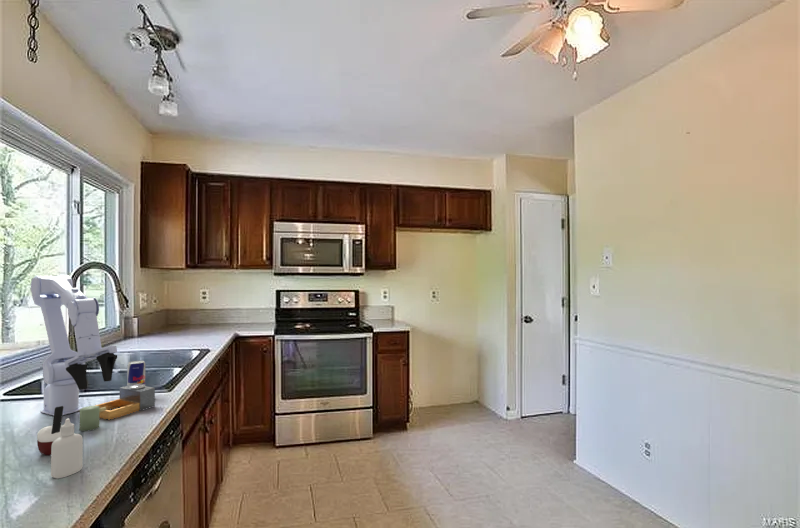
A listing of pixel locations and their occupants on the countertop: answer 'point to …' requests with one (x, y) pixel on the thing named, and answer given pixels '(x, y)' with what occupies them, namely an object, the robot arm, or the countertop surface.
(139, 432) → the countertop surface
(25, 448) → the countertop surface
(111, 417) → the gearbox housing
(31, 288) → the robot arm
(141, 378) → the energy drink
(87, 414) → the spout can
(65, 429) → the eye dropper bottle
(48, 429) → the cocoa
